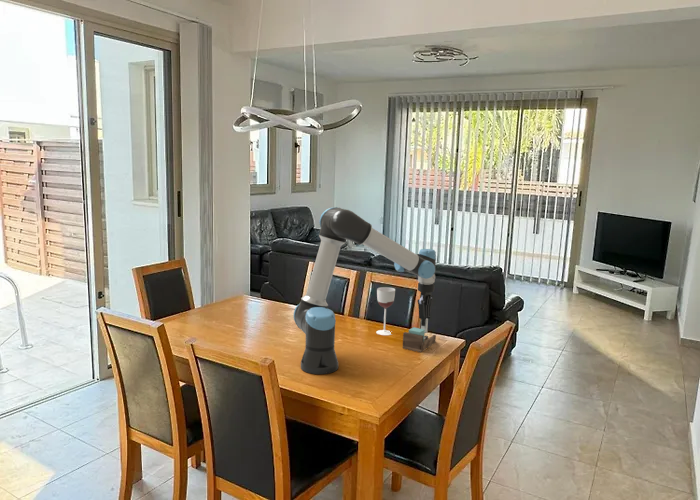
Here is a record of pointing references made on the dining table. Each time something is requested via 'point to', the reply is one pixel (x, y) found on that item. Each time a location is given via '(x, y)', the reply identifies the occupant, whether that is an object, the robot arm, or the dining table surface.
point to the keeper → (417, 331)
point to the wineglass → (385, 304)
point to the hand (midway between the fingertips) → (423, 332)
